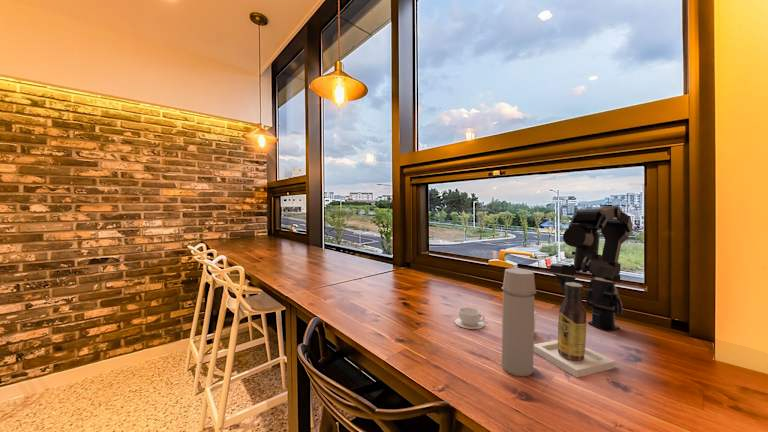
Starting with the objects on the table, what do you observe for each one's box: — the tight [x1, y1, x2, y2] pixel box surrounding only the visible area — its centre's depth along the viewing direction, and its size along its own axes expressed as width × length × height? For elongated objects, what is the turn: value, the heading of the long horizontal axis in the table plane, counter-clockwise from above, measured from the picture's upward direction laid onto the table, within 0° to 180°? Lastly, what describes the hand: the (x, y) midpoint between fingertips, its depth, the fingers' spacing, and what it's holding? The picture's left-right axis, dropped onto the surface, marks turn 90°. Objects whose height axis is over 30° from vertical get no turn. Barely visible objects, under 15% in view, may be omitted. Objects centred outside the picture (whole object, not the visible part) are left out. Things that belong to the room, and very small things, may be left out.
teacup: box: [454, 306, 486, 330], centre depth 97 cm, size 10×10×5 cm
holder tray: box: [533, 339, 616, 378], centre depth 75 cm, size 13×13×2 cm
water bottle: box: [500, 267, 537, 378], centre depth 70 cm, size 9×8×25 cm
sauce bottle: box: [557, 281, 588, 361], centre depth 75 cm, size 7×6×20 cm
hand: (581, 301), depth 84 cm, fingers open, 9 cm apart
